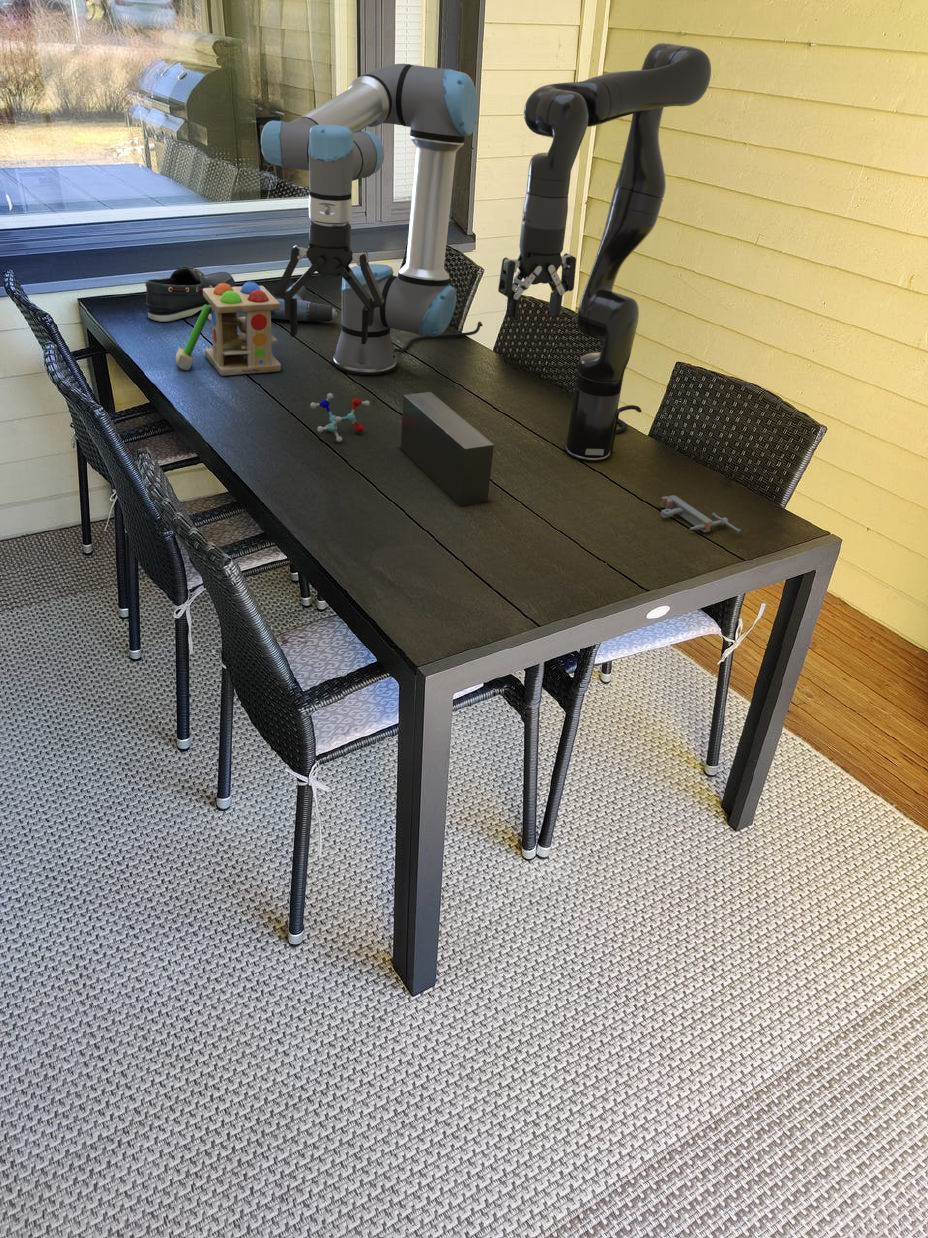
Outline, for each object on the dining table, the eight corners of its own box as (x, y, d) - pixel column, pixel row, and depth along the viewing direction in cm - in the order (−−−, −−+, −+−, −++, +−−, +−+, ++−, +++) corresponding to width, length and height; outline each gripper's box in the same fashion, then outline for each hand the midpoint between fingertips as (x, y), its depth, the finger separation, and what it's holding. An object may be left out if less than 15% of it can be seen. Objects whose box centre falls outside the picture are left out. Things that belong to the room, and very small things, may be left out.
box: (400, 448, 200) (403, 394, 194) (426, 445, 203) (430, 391, 196) (459, 506, 182) (465, 448, 175) (487, 501, 184) (494, 444, 178)
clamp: (649, 498, 185) (689, 490, 190) (647, 509, 187) (687, 500, 191) (702, 536, 175) (743, 526, 179) (699, 546, 176) (740, 536, 181)
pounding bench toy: (183, 379, 220) (176, 299, 210) (169, 357, 231) (162, 280, 221) (282, 371, 230) (280, 294, 220) (264, 350, 240) (262, 276, 230)
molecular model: (357, 434, 195) (340, 385, 194) (317, 449, 199) (300, 401, 197) (380, 430, 206) (364, 384, 204) (342, 444, 209) (326, 399, 208)
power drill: (344, 304, 276) (335, 327, 259) (277, 298, 275) (264, 321, 258) (344, 285, 273) (335, 306, 256) (277, 279, 272) (264, 300, 255)
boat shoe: (254, 300, 273) (252, 262, 268) (165, 323, 249) (160, 282, 244) (221, 292, 279) (218, 254, 273) (130, 314, 255) (125, 273, 250)
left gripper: (256, 218, 173) (259, 337, 185) (396, 233, 173) (391, 351, 185) (266, 210, 179) (269, 325, 191) (401, 224, 179) (396, 338, 191)
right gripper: (519, 229, 160) (509, 327, 169) (591, 225, 166) (577, 320, 175) (496, 218, 165) (488, 313, 175) (566, 214, 171) (555, 307, 181)
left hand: (329, 338), depth 188 cm, fingers open, 13 cm apart
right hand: (533, 316), depth 175 cm, fingers open, 8 cm apart
